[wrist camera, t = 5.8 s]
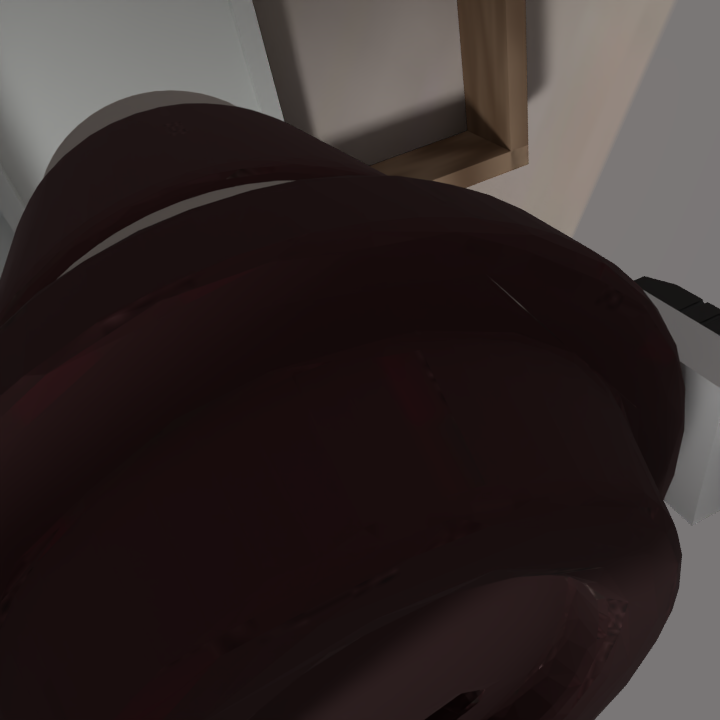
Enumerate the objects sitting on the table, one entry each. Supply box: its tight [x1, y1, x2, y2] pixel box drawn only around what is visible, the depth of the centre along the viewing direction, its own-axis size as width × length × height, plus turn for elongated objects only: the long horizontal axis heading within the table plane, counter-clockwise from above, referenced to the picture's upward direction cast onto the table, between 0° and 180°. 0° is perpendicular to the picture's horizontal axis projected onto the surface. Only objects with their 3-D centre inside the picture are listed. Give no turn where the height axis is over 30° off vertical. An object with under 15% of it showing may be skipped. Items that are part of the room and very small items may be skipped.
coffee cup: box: [0, 90, 685, 720], centre depth 12 cm, size 10×10×15 cm
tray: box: [0, 0, 284, 278], centre depth 27 cm, size 21×19×9 cm
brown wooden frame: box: [370, 0, 528, 188], centre depth 32 cm, size 20×19×5 cm
